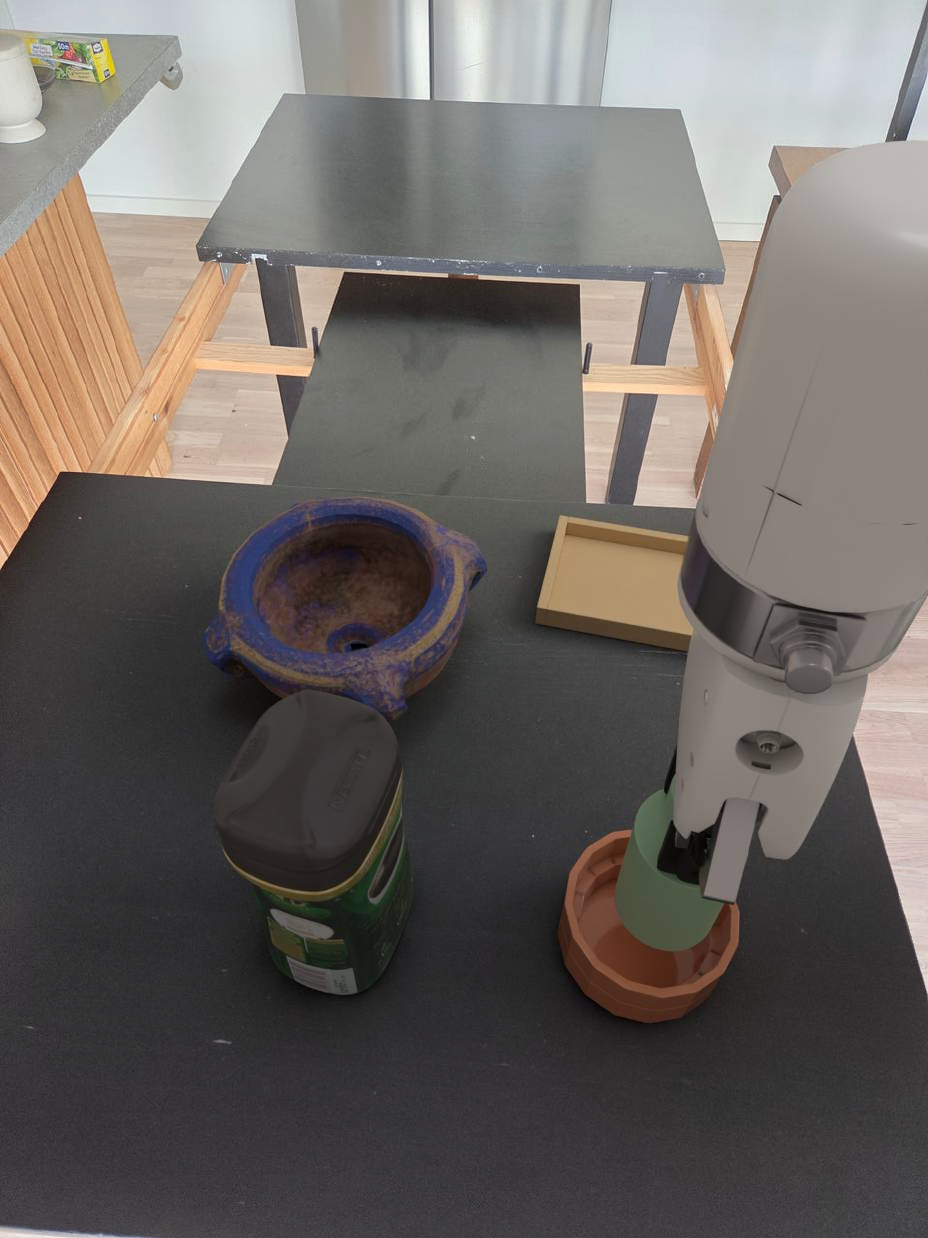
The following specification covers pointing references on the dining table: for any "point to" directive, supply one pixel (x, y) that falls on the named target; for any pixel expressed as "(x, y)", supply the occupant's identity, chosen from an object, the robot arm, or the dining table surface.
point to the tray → (615, 583)
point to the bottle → (659, 886)
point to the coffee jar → (321, 838)
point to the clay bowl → (634, 945)
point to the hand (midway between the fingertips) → (692, 831)
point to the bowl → (345, 601)
